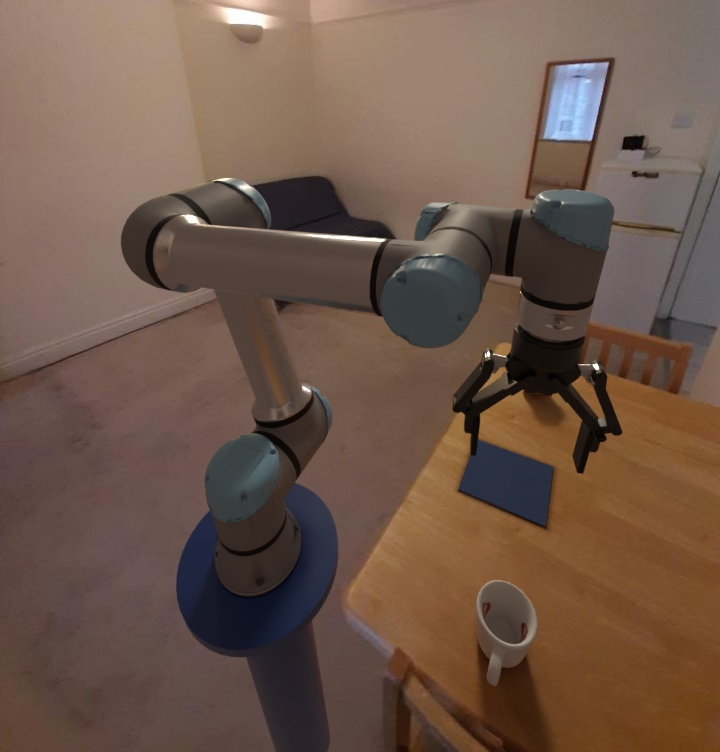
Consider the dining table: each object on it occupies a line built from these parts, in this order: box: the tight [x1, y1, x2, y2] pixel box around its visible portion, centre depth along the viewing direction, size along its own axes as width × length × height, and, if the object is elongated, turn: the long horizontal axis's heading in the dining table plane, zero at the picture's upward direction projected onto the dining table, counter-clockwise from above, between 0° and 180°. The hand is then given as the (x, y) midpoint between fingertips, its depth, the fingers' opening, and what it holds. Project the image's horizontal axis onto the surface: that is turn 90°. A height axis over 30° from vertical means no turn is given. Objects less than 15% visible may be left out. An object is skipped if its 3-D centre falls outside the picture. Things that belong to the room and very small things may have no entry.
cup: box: [475, 579, 539, 687], centre depth 55 cm, size 11×8×8 cm
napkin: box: [457, 439, 554, 528], centre depth 82 cm, size 16×14×1 cm
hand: (523, 456), depth 56 cm, fingers open, 13 cm apart
